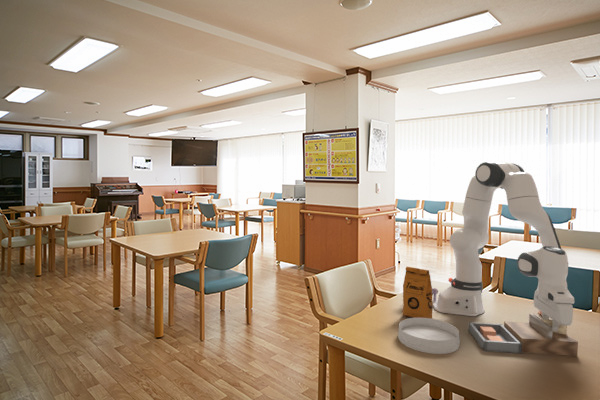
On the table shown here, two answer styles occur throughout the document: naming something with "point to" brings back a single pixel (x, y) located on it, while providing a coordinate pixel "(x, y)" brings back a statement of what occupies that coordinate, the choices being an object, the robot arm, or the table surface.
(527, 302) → the table surface
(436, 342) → the dish
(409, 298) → the coffee package
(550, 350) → the walnut board
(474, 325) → the box
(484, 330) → the terracotta tile
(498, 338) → the terracotta tile
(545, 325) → the scraper
